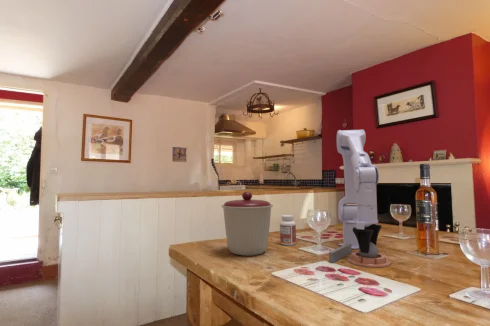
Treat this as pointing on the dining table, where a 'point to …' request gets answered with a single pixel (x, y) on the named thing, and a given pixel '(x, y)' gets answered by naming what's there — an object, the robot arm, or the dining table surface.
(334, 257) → the low wall
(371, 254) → the ball
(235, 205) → the canister
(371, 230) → the robot arm
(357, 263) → the bowl
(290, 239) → the pill bottle
